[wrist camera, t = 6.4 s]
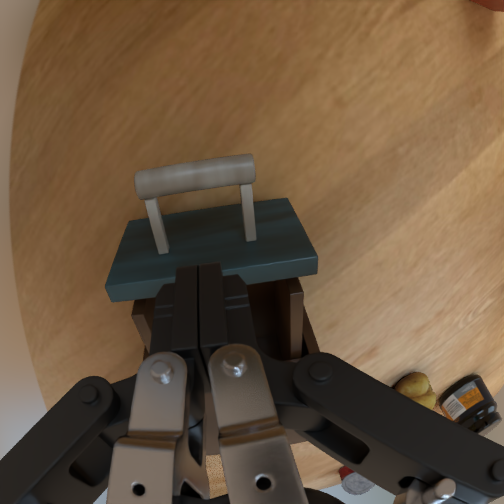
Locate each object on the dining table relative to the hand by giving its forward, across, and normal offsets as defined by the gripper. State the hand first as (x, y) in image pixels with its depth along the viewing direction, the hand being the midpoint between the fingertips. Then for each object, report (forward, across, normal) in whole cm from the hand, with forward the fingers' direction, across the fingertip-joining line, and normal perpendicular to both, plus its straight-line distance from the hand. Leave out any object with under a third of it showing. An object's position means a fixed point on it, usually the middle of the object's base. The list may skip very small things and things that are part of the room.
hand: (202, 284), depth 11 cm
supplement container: (+12, -42, +48) cm, 65 cm away
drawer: (+12, 0, +7) cm, 14 cm away
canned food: (+12, -25, +80) cm, 84 cm away
